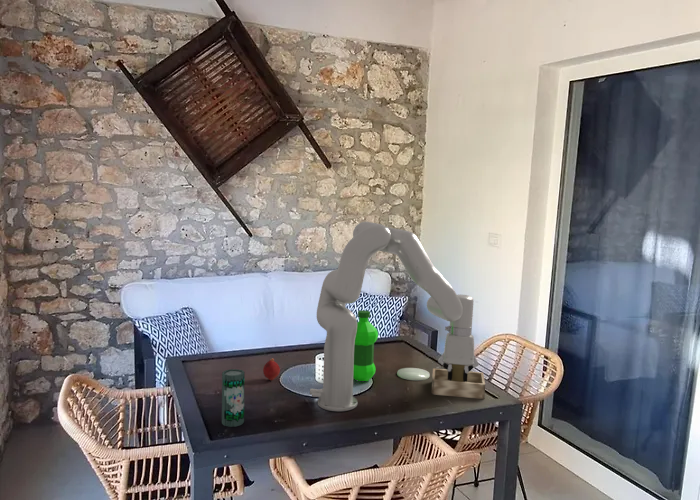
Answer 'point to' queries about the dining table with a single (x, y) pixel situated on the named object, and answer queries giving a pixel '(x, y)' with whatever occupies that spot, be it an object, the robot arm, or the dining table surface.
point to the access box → (458, 385)
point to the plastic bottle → (364, 348)
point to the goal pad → (413, 374)
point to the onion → (271, 369)
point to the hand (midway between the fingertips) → (457, 382)
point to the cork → (457, 372)
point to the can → (233, 397)
